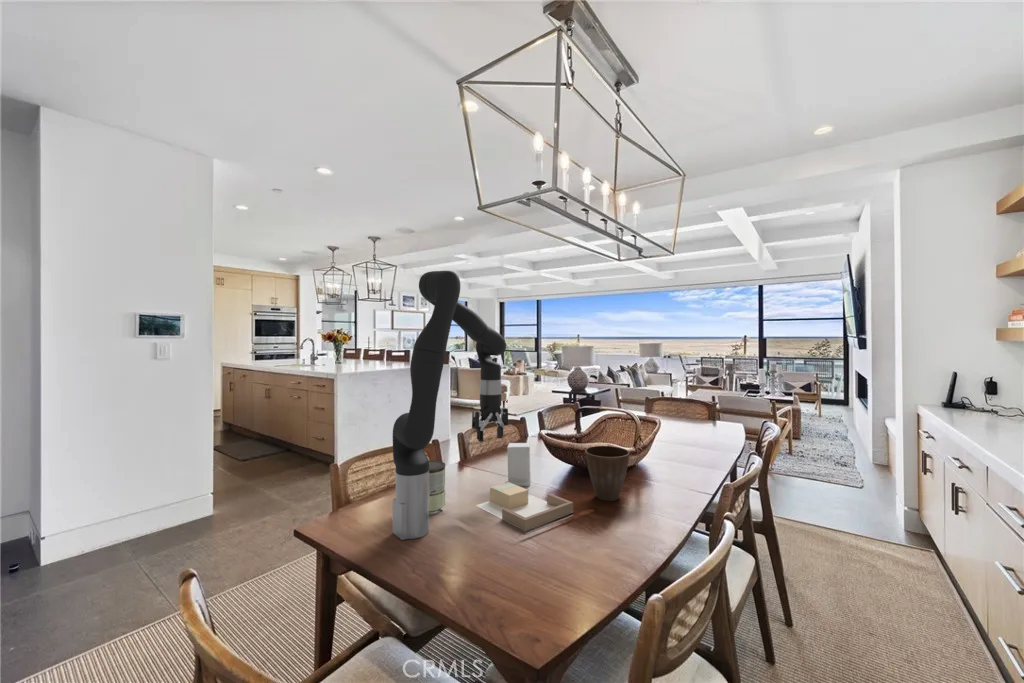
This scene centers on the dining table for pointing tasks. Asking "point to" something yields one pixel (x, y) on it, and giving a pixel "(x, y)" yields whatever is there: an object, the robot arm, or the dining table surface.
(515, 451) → the skincare box
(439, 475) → the coffee can
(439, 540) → the dining table surface
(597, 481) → the plant pot
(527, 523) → the tan flat tray
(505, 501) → the carton
